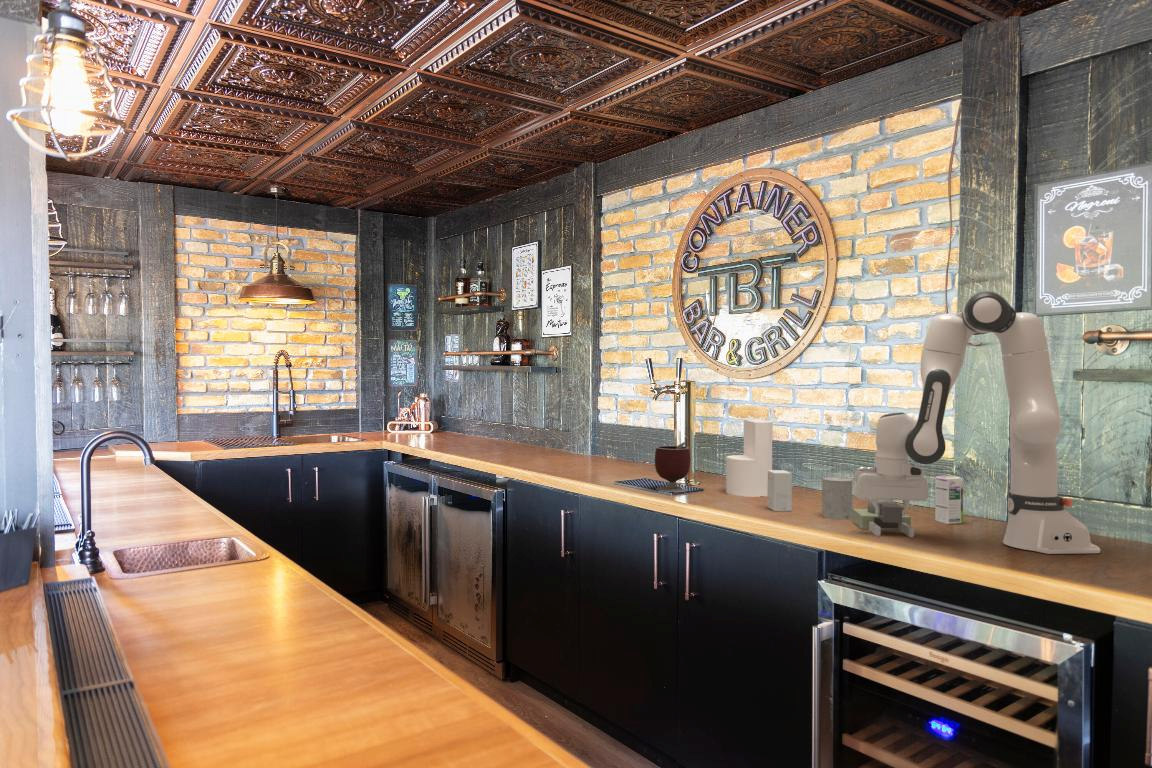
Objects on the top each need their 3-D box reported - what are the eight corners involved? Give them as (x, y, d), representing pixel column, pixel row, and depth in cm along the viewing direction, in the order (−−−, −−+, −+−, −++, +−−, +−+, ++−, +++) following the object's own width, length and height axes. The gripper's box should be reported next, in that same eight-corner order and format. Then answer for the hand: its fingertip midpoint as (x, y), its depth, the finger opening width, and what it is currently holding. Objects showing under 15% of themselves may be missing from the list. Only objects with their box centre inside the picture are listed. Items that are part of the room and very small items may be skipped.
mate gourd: (647, 489, 302) (648, 439, 301) (676, 486, 308) (677, 437, 307) (669, 495, 288) (670, 442, 287) (699, 492, 294) (700, 441, 294)
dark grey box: (896, 518, 224) (896, 503, 224) (902, 523, 218) (902, 507, 217) (878, 517, 225) (878, 502, 225) (883, 522, 219) (883, 506, 218)
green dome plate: (898, 522, 237) (898, 497, 237) (920, 537, 217) (920, 509, 216) (852, 521, 239) (852, 496, 239) (869, 535, 218) (869, 508, 218)
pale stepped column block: (764, 489, 302) (765, 419, 302) (777, 496, 285) (778, 422, 284) (721, 489, 302) (722, 419, 301) (731, 496, 284) (732, 422, 284)
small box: (792, 511, 256) (792, 473, 255) (773, 511, 255) (774, 473, 255) (784, 507, 264) (785, 469, 263) (766, 507, 264) (767, 469, 263)
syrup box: (948, 524, 235) (948, 478, 235) (934, 520, 241) (935, 475, 240) (963, 523, 236) (964, 477, 236) (949, 520, 242) (950, 474, 242)
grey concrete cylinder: (854, 519, 242) (855, 481, 242) (823, 518, 244) (823, 480, 244) (850, 514, 251) (850, 477, 251) (820, 512, 253) (820, 476, 253)
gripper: (857, 468, 219) (855, 515, 220) (931, 470, 217) (929, 518, 217) (851, 465, 226) (850, 511, 226) (923, 467, 223) (922, 514, 223)
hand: (890, 514), depth 221 cm, fingers closed on dark grey box, 5 cm apart
